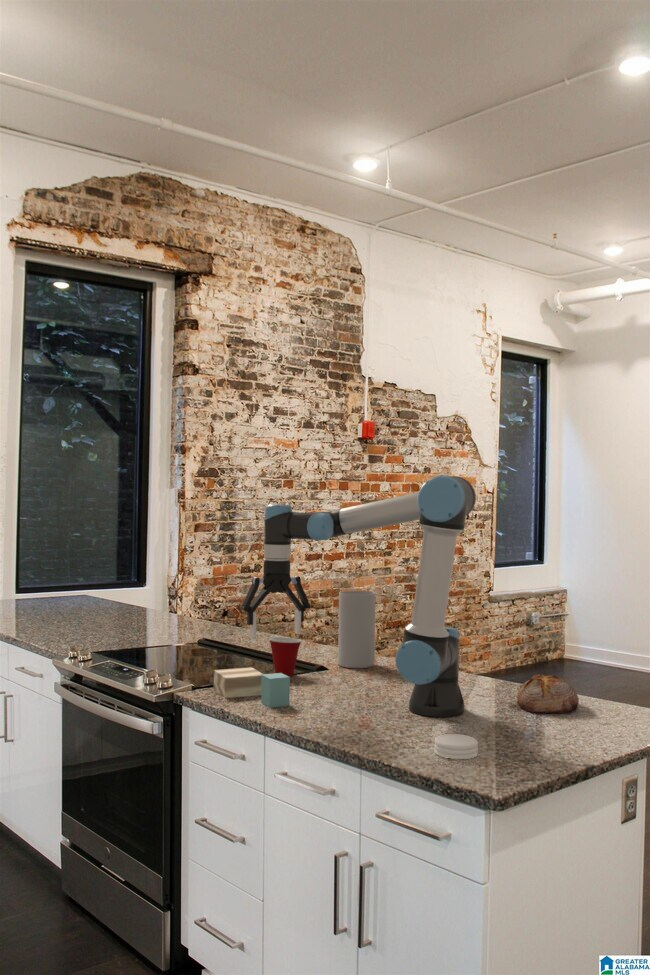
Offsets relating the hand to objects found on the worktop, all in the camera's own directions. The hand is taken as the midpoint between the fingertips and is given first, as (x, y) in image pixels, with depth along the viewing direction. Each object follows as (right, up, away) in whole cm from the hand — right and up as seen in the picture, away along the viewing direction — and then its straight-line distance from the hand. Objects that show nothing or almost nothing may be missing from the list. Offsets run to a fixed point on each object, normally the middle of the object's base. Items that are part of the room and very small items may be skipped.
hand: (275, 635), depth 246 cm
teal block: (0, -19, 0) cm, 19 cm away
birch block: (-12, -20, +14) cm, 27 cm away
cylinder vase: (+25, -20, +56) cm, 64 cm away
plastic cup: (+1, -20, +38) cm, 43 cm away
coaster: (+44, -20, -44) cm, 66 cm away
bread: (+77, -21, +1) cm, 79 cm away
